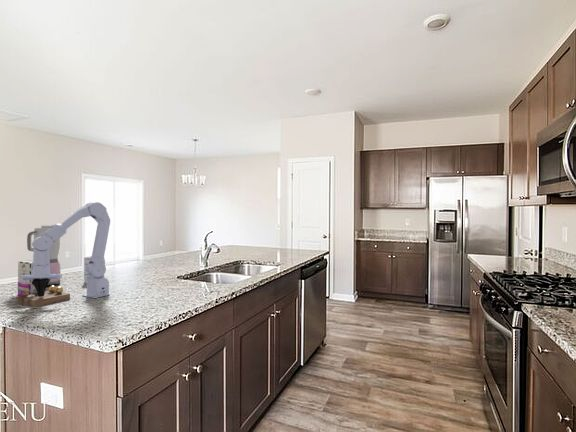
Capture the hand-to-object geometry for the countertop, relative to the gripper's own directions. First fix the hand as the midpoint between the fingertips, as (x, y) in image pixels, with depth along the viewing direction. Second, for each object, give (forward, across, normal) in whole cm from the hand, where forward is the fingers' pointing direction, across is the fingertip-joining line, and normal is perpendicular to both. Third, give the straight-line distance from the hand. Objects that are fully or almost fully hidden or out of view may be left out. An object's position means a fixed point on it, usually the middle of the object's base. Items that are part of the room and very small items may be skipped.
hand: (41, 296), depth 142 cm
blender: (+3, +14, -39) cm, 42 cm away
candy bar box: (+3, +10, -14) cm, 18 cm away
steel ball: (+2, +5, -4) cm, 7 cm away
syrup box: (+3, -8, -44) cm, 45 cm away
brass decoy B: (-1, -1, -9) cm, 9 cm away
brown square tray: (+3, +1, -4) cm, 5 cm away
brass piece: (-1, -5, -6) cm, 8 cm away
